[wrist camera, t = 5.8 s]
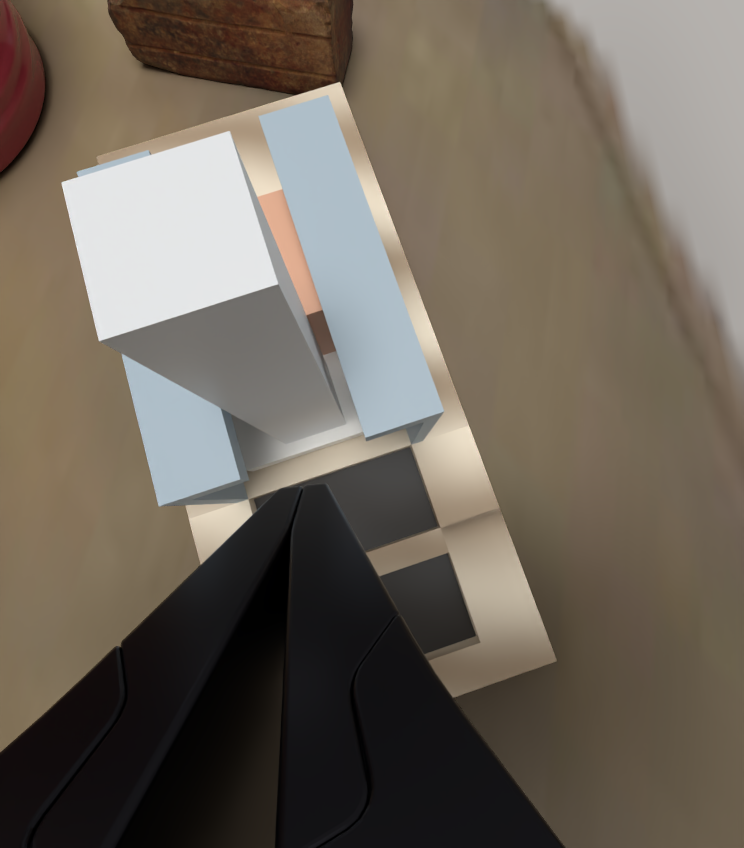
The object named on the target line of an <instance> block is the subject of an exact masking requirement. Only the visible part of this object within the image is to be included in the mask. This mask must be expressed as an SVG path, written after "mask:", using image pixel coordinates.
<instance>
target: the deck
mask: <svg viewBox="0 0 744 848" xmlns="http://www.w3.org/2000/svg"><path fill="white" fill-rule="evenodd" d="M326 95H328V96H329V99H330V101H331V104H332V107H333V109H334V112H335V115H336V118H337V120H338V123H339V126H340V129H341V131H342V134H343V137H344V139H345V142H346V145H347V148H348V150H349V153H350V156H351V158H352V161H353V164H354V167H355V169H356V172H357V175H358V178H359V180H360V183H361V186H362V188H363V191H364V194H365V197H366V199H367V202H368V205H369V207H370V210H371V213H372V216H373V218H374V221H375V224H376V227H377V229H378V232H379V235H380V237H381V240H382V243H383V246H384V248H385V251H386V254H387V257H388V259H389V262H390V265H391V267H392V270H393V273H394V276H395V278H396V281H397V284H398V286H399V289H400V292H401V295H402V297H403V300H404V303H405V306H406V308H407V311H408V314H409V316H410V319H411V322H412V325H413V327H414V330H415V333H416V335H417V338H418V341H419V344H420V346H421V349H422V352H423V355H424V357H425V360H426V363H427V365H428V368H429V371H430V374H431V376H432V379H433V382H434V384H435V387H436V390H437V393H438V395H439V398H440V401H441V404H442V406H443V409H444V413H443V414H442V415H441V417H440V418H439V420H438V421H437V422H436V424H435V425H434V426H433V428H432V429H431V431H430V432H429V433H428V435H427V436H426V437H425V439H424V440H423V441H421V442H418V443H415V444H412V445H411V442H410V439H409V436H408V433H407V430H406V428H405V429H402V430H399V431H396V432H393V433H390V434H387V435H384V436H381V437H378V438H375V439H372V440H369V441H366V439H365V436H364V435H361V436H358V437H355V438H352V439H349V440H346V441H343V442H340V443H337V444H334V445H331V446H328V447H325V448H322V449H319V450H316V451H313V452H310V453H307V454H304V455H301V456H298V457H295V458H292V459H289V460H286V461H283V462H280V463H277V464H274V465H271V466H268V467H265V468H262V469H259V470H256V471H253V472H252V471H247V474H248V477H249V481H246V482H244V486H245V489H246V493H247V497H248V499H247V500H244V501H241V502H238V503H227V504H203V505H186V509H187V513H188V517H189V521H190V525H191V529H192V533H193V537H194V541H195V544H196V548H197V552H198V556H199V560H200V564H202V563H203V562H204V561H205V560H206V559H207V558H208V557H209V556H210V555H211V554H212V553H213V552H215V551H216V550H217V549H218V548H219V547H220V546H221V545H222V544H223V543H224V542H225V541H226V540H227V539H228V538H229V537H230V536H231V535H232V534H233V533H234V532H235V531H236V530H237V529H238V528H239V527H240V526H241V525H242V524H243V523H244V522H245V521H246V520H248V519H249V518H250V517H251V516H252V515H253V514H254V513H255V512H256V511H257V510H258V509H259V508H260V507H261V506H262V505H263V504H264V503H265V502H266V501H267V500H268V499H269V498H270V497H271V496H272V495H273V494H274V493H275V492H276V491H277V490H279V489H280V488H284V487H293V486H301V487H303V488H304V487H305V486H306V485H311V484H320V483H326V484H327V485H328V486H329V488H330V489H331V491H332V493H333V495H334V497H335V498H336V500H337V502H338V504H339V505H340V507H341V509H342V511H343V513H344V514H345V516H346V518H347V520H348V522H349V523H350V525H351V527H352V529H353V531H354V532H355V534H356V536H357V538H358V539H359V541H360V543H361V545H362V547H363V548H364V550H365V552H366V554H367V556H368V557H369V559H370V561H371V563H372V565H373V566H374V568H375V570H376V572H377V573H378V575H379V577H380V579H381V581H382V582H383V584H384V586H385V588H386V590H387V591H388V593H389V595H390V597H391V599H392V600H393V602H394V604H395V606H396V607H397V609H398V611H399V613H400V615H401V616H402V617H403V619H404V620H405V622H406V624H407V626H408V627H409V629H410V631H411V633H412V635H413V636H414V638H415V640H416V641H417V643H418V645H419V646H420V648H421V650H422V651H423V653H424V655H425V656H426V658H427V659H428V661H429V663H430V664H431V666H432V668H433V669H434V671H435V672H436V674H437V675H438V677H439V678H440V680H441V681H442V683H443V684H444V685H445V687H446V688H447V690H448V691H449V692H450V694H451V695H452V697H453V698H454V697H457V696H460V695H462V694H465V693H468V692H471V691H474V690H477V689H479V688H482V687H485V686H488V685H491V684H494V683H496V682H499V681H502V680H505V679H508V678H511V677H513V676H516V675H519V674H522V673H525V672H528V671H530V670H533V669H536V668H539V667H542V666H545V665H547V664H550V663H553V662H556V661H557V659H556V657H555V654H554V651H553V649H552V646H551V643H550V641H549V638H548V635H547V633H546V630H545V627H544V625H543V622H542V619H541V617H540V614H539V611H538V609H537V606H536V603H535V601H534V598H533V595H532V593H531V590H530V587H529V585H528V582H527V579H526V577H525V574H524V571H523V569H522V566H521V563H520V561H519V558H518V555H517V553H516V550H515V547H514V545H513V542H512V539H511V537H510V534H509V531H508V529H507V526H506V523H505V521H504V518H503V515H502V513H501V510H500V507H499V505H498V502H497V499H496V497H495V494H494V491H493V489H492V486H491V483H490V481H489V478H488V475H487V473H486V470H485V467H484V465H483V462H482V459H481V457H480V454H479V451H478V449H477V446H476V443H475V441H474V438H473V435H472V433H471V430H470V427H469V425H468V422H467V419H466V417H465V414H464V411H463V409H462V406H461V403H460V401H459V398H458V395H457V393H456V390H455V387H454V385H453V382H452V379H451V377H450V374H449V371H448V369H447V366H446V363H445V361H444V358H443V355H442V353H441V350H440V347H439V345H438V342H437V339H436V337H435V334H434V331H433V329H432V326H431V323H430V321H429V318H428V315H427V313H426V310H425V307H424V305H423V302H422V299H421V297H420V294H419V291H418V289H417V286H416V283H415V281H414V278H413V275H412V273H411V270H410V267H409V265H408V262H407V259H406V257H405V254H404V251H403V249H402V246H401V243H400V241H399V238H398V235H397V233H396V230H395V227H394V225H393V222H392V219H391V217H390V214H389V211H388V209H387V206H386V203H385V200H384V198H383V195H382V192H381V190H380V187H379V184H378V182H377V179H376V176H375V174H374V171H373V168H372V166H371V163H370V160H369V158H368V155H367V152H366V150H365V147H364V144H363V142H362V139H361V136H360V134H359V131H358V128H357V126H356V123H355V120H354V118H353V115H352V112H351V110H350V107H349V104H348V102H347V99H346V96H345V94H344V91H343V88H342V86H341V83H340V82H338V83H335V84H332V85H328V86H325V87H322V88H319V89H315V90H312V91H309V92H305V93H302V94H299V95H296V96H292V97H289V98H286V99H283V100H279V101H276V102H273V103H269V104H266V105H263V106H260V107H256V108H253V109H250V110H247V111H243V112H240V113H237V114H233V115H230V116H227V117H224V118H220V119H217V120H214V121H211V122H207V123H204V124H201V125H197V126H194V127H191V128H188V129H184V130H181V131H178V132H175V133H171V134H168V135H165V136H161V137H158V138H155V139H152V140H148V141H145V142H142V143H139V144H135V145H132V146H129V147H125V148H122V149H119V150H116V151H112V152H109V153H106V154H103V155H99V156H96V157H97V161H98V165H101V164H104V163H107V162H111V161H114V160H117V159H120V158H124V157H127V156H130V155H133V154H137V153H140V152H143V151H146V150H149V151H150V153H151V154H156V153H159V152H162V151H165V150H169V149H172V148H175V147H178V146H182V145H185V144H188V143H191V142H195V141H198V140H201V139H204V138H208V137H211V136H214V135H218V134H221V133H224V132H227V131H230V133H231V135H232V138H233V140H234V142H235V145H236V147H237V150H238V152H239V154H240V157H241V159H242V162H243V164H244V167H245V169H246V171H247V174H248V176H249V179H250V181H251V183H252V186H253V188H254V191H255V193H256V195H257V197H259V196H262V195H265V194H268V193H271V192H275V191H278V190H281V189H282V186H281V183H280V180H279V177H278V174H277V171H276V168H275V165H274V162H273V159H272V156H271V153H270V150H269V147H268V144H267V141H266V138H265V135H264V132H263V129H262V126H261V123H260V120H259V117H258V116H261V115H264V114H267V113H271V112H274V111H277V110H280V109H284V108H287V107H290V106H293V105H297V104H300V103H303V102H306V101H310V100H313V99H316V98H320V97H323V96H326ZM232 421H233V420H232ZM234 428H235V427H234ZM236 435H237V434H236ZM238 442H239V441H238ZM239 446H240V445H239ZM241 453H242V452H241ZM243 460H244V459H243ZM245 467H246V466H245Z"/></svg>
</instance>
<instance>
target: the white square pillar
mask: <svg viewBox="0 0 744 848" xmlns="http://www.w3.org/2000/svg"><path fill="white" fill-rule="evenodd" d="M61 183H62V187H63V191H64V196H65V200H66V204H67V208H68V212H69V217H70V221H71V225H72V229H73V234H74V238H75V242H76V246H77V250H78V255H79V259H80V263H81V267H82V271H83V276H84V280H85V284H86V288H87V292H88V297H89V301H90V305H91V309H92V314H93V318H94V322H95V326H96V330H97V335H98V339H99V341H100V342H101V343H103V344H105V345H107V346H109V347H110V348H112V349H114V350H116V351H118V352H120V353H121V354H123V355H125V356H127V357H129V358H130V359H132V360H134V361H136V362H138V363H140V364H141V365H143V366H145V367H147V368H149V369H150V370H152V371H154V372H156V373H158V374H159V375H161V376H163V377H165V378H167V379H169V380H170V381H172V382H174V383H176V384H178V385H179V386H181V387H183V388H185V389H187V390H189V391H190V392H192V393H194V394H196V395H198V396H199V397H201V398H203V399H205V400H207V401H208V402H210V403H212V404H214V405H216V406H218V407H219V408H221V409H223V410H225V411H227V412H228V413H230V414H231V417H232V420H233V424H234V427H235V431H236V434H237V438H238V441H239V445H240V449H241V452H242V456H243V459H244V463H245V466H246V470H247V471H252V472H253V471H256V470H259V469H262V468H265V467H268V466H271V465H274V464H277V463H280V462H283V461H286V460H289V459H292V458H295V457H298V456H301V455H304V454H307V453H310V452H313V451H316V450H319V449H322V448H325V447H328V446H331V445H334V444H337V443H340V442H343V441H346V440H349V439H352V438H355V437H358V436H361V435H364V433H363V430H362V427H361V424H360V421H359V418H358V415H357V412H356V409H355V406H354V403H353V400H352V397H351V394H350V391H349V388H348V385H347V382H346V379H345V376H344V373H343V370H342V367H341V364H340V361H339V358H338V355H337V352H336V349H335V346H334V343H333V340H332V337H331V334H330V331H329V328H328V325H327V322H326V319H325V316H324V313H323V310H322V307H321V304H320V301H319V298H318V295H317V292H316V289H315V286H314V283H313V280H312V276H311V273H310V270H309V267H308V264H307V261H306V258H305V255H304V252H303V249H302V246H301V243H300V240H299V237H298V234H297V231H296V228H295V225H294V222H293V219H292V216H291V213H290V210H289V207H288V204H287V201H286V198H285V195H284V192H283V189H281V190H278V191H275V192H271V193H268V194H265V195H262V196H259V197H257V195H256V193H255V191H254V188H253V186H252V183H251V181H250V179H249V176H248V174H247V171H246V169H245V167H244V164H243V162H242V159H241V157H240V154H239V152H238V150H237V147H236V145H235V142H234V140H233V138H232V135H231V133H230V131H227V132H224V133H221V134H218V135H214V136H211V137H208V138H204V139H201V140H198V141H195V142H191V143H188V144H185V145H182V146H178V147H175V148H172V149H169V150H165V151H162V152H159V153H156V154H152V155H149V156H146V157H143V158H139V159H136V160H133V161H129V162H126V163H123V164H120V165H116V166H113V167H110V168H107V169H103V170H100V171H97V172H94V173H90V174H87V175H84V176H81V177H77V178H74V179H71V180H68V181H64V182H61Z"/></svg>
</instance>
